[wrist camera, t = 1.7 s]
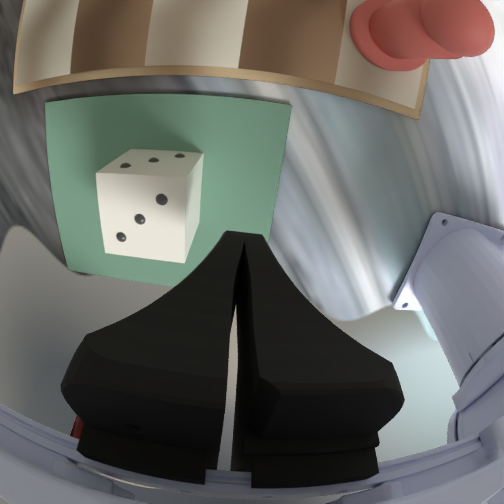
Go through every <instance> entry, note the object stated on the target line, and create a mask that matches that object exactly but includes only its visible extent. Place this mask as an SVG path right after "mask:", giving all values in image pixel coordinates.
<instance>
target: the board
mask: <svg viewBox="0 0 504 504" xmlns="http://www.w3.org/2000/svg"><path fill="white" fill-rule="evenodd" d="M365 1H366V0H24V1H23V6H22V11H21V16H20V22H19V28H18V35H17V43H16V52H15V64H14V85H13V94H17V93H21V92H25V91H30V90H34V89H39V88H43V87H48V86H54V85H59V84H65V83H71V82H78V81H85V80H93V79H102V78H113V77H126V76H147V75H192V76H213V77H227V78H238V79H247V80H256V81H264V82H271V83H278V84H284V85H290V86H296V87H301V88H306V89H311V90H316V91H321V92H325V93H330V94H334V95H338V96H342V97H346V98H350V99H354V100H357V101H361V102H365V103H368V104H372V105H375V106H378V107H381V108H385V109H388V110H391V111H394V112H397V113H400V114H403V115H405V116H408V117H411V118H414V119H417V120H419V116H420V111H421V107H422V102H423V97H424V92H425V87H426V81H427V76H428V70H429V63H430V59H427V60H426V62H425V63H424V64H423V65H422V66H420V67H419V68H417V69H415V70H411V71H388V70H384V69H381V68H378V67H376V66H375V65H373V64H371V63H370V62H369V61H367V60H366V59H365V58H364V57H363V56H362V55H361V54H360V52H359V51H358V50H357V48H356V47H355V45H354V43H353V41H352V38H351V34H350V28H349V25H350V18H351V15H352V13H353V11H354V10H355V9H356V8H357V7H358V6H359V5H360V4H362V3H363V2H365Z"/></svg>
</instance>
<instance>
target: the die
mask: <svg viewBox="0 0 504 504" xmlns="http://www.w3.org/2000/svg"><path fill="white" fill-rule="evenodd" d="M203 155H204V153H197V152H184V151H168V150H148V149H130V150H129V151H127V152H126V153H124V154H122V155H121V156H119V157H118V158H116V159H115V160H113V161H112V162H110V163H109V164H108V165H106V166H105V167H103V168H102V169H100V170H99V171H98V172H96V184H97V195H98V205H99V213H100V221H101V229H102V236H103V242H104V248H105V253H109V254H116V255H124V256H131V257H139V258H146V259H154V260H162V261H170V262H178V263H185V261H186V258H187V255H188V252H189V249H190V247H191V244H192V241H193V238H194V235H195V233H196V230H197V227H198V224H199V219H200V200H201V183H202V169H203Z"/></svg>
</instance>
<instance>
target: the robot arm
mask: <svg viewBox="0 0 504 504" xmlns="http://www.w3.org/2000/svg"><path fill="white" fill-rule="evenodd" d="M444 219H445V221H444V222H443V223H442V221H443V220H444ZM404 303H405V304H404ZM392 304H393V307H394V308H395V309H397V310H422V311H424V313H425V315H426V317H427V319H428V321H429V323H430V324H431V326H432V328H433V330H434V332H435V334H436V336H437V338H438V340H439V342H440V345H441V347H442V349H443V351H444V353H445V355H446V357H447V359H448V362H449V364H450V366H451V368H452V371H453V373H454V375H455V377H456V379H457V382H458V385H459V387H460V389H459V390H458V391H457V392H456V393H455V394H454V395H453V396H452V399H453V401H454V404H455V407H456V410H455V411H454V413H453V414H452V416H451V418H450V420H449V424H448V431H447V445H444V446H441V447H438V448H435V449H432V450H428V451H425V452H422V453H418V454H414V455H410V456H406V457H402V458H398V459H393V460H389V461H384V462H378V463H377V457H376V452H375V447H377V446H379V443H380V442H379V438H378V431H379V430H380V429H381V428H382V427H383V426H385V425H386V424H387V423H388V422H389V421H390V420H391V419H393V418H394V416H395V415H396V414H397V413H398V412H399V411H400V409H401V408H402V406H403V403H404V400H405V399H404V396H403V392H402V389H401V385H400V382H399V379H398V376H397V373H396V371H395V369H394V366H393V364H392V362H390V361H388V360H386V359H385V358H383V357H381V356H380V355H378V354H376V353H374V352H373V351H371V350H370V349H368V348H366V347H364V346H363V345H361V344H360V343H358V342H357V341H356V340H354V339H353V338H351V337H350V336H349V335H347V334H346V333H345V332H343V331H342V330H341V329H339V328H338V327H337V326H336V325H334V324H333V323H332V322H331V321H330V320H328V319H327V318H326V317H325V316H324V315H323V314H322V313H320V312H319V311H318V310H317V309H316V308H315V307H314V306H313V305H312V304H311V303H310V302H309V301H308V300H307V299H306V298H305V296H304V295H303V294H302V293H301V292H300V291H299V290H298V289H297V287H296V286H295V285H294V284H293V282H292V281H291V280H290V278H289V277H288V276H287V274H286V273H285V271H284V270H283V268H282V267H281V265H280V264H279V262H278V261H277V259H276V258H275V256H274V254H273V253H272V251H271V249H270V247H269V245H268V244H267V242H266V240H265V238H264V236H263V235H262V234H255V233H247V232H238V231H229V230H227V231H225V232H224V233H223V234H222V236H221V238H220V239H219V241H218V242H217V244H216V245H215V246H214V248H213V249H212V250H211V251H210V252H209V254H208V255H207V256H206V257H205V258H204V260H203V261H202V262H201V263H200V264H199V265H198V266H197V267H196V268H195V269H194V270H193V271H192V272H191V273H190V274H189V275H188V276H187V277H185V278H184V279H183V280H182V281H181V282H180V283H179V284H177V285H176V286H175V287H174V288H172V289H171V290H170V291H169V292H167V293H166V294H164V295H163V296H162V297H160V298H159V299H157V300H156V301H154V302H153V303H152V304H150V305H148V306H147V307H145V308H143V309H141V310H140V311H138V312H136V313H134V314H132V315H130V316H128V317H126V318H125V319H122V320H120V321H118V322H116V323H113V324H111V325H109V326H106V327H104V328H102V329H99V330H97V331H95V332H92V333H89V334H87V335H86V336H85V337H84V339H83V341H82V342H81V344H80V345H79V347H78V348H77V350H76V352H75V354H74V356H73V358H72V360H71V362H70V364H69V366H68V369H67V371H66V373H65V376H64V378H63V380H62V383H61V392H62V394H63V396H64V398H65V400H66V401H67V403H68V404H69V405H70V407H71V408H72V409H73V411H74V412H75V413H76V414H77V416H78V417H79V418H80V419H81V420H82V422H83V423H84V426H83V429H82V432H81V435H80V439H76V438H74V437H71V436H68V435H66V434H63V433H61V432H58V431H56V430H53V429H51V428H48V427H46V426H44V425H42V424H39V423H38V422H35V421H33V420H31V419H29V418H27V417H25V416H23V415H21V414H19V413H17V412H15V411H13V410H11V409H9V408H8V407H6V406H4V405H2V404H0V497H1V498H2V499H3V500H5V501H6V502H8V503H9V504H149V503H145V502H140V501H136V500H135V495H134V494H133V493H131V492H129V491H127V490H124V489H122V488H121V487H119V486H117V485H115V484H114V482H113V481H112V480H110V479H107V478H104V477H102V476H99V475H96V474H94V473H92V472H90V471H87V470H85V469H83V468H86V469H89V470H92V471H95V472H98V473H101V474H104V475H107V476H110V477H114V478H117V479H121V480H124V481H128V482H132V483H136V484H140V485H144V486H148V487H153V488H158V489H163V490H168V491H174V492H181V493H186V494H194V495H201V496H211V497H223V498H237V499H289V498H306V497H317V496H325V495H333V494H341V493H347V492H354V491H359V490H364V489H368V490H365V491H361V492H357V493H353V494H348V495H344V496H342V497H341V498H339V499H338V500H335V501H333V502H330V503H327V504H483V503H484V502H485V501H487V503H488V504H504V231H503V230H500V229H497V228H494V227H491V226H487V225H484V224H481V223H477V222H474V221H470V220H467V219H463V218H460V217H456V216H453V215H449V214H445V213H441V212H436V213H434V214H433V216H432V217H431V220H430V222H429V225H428V227H427V230H426V232H425V235H424V237H423V239H422V242H421V244H420V246H419V249H418V251H417V253H416V255H415V258H414V260H413V262H412V264H411V266H410V268H409V271H408V273H407V275H406V277H405V279H404V281H403V283H402V285H401V287H400V289H399V291H398V293H397V295H396V297H395V299H394V301H393V303H392ZM235 306H236V314H237V340H238V342H237V343H238V372H237V386H236V387H237V388H236V401H235V415H234V429H233V443H232V456H231V469H230V471H223V470H217V463H218V456H219V451H220V443H221V435H222V428H223V421H224V414H225V405H226V391H227V376H228V358H229V341H230V340H229V339H230V332H231V326H232V322H233V316H234V311H235ZM77 465H78V466H81V467H83V468H80V467H78V466H77ZM369 488H372V489H369Z"/></svg>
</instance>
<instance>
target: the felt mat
mask: <svg viewBox="0 0 504 504" xmlns="http://www.w3.org/2000/svg"><path fill="white" fill-rule="evenodd" d="M291 108H292V105H288V104H282V103H275V102H268V101H261V100H253V99H245V98H235V97H225V96H212V95H195V94H122V95H106V96H93V97H83V98H74V99H66V100H59V101H52V102H47V103H45V116H46V139H47V153H48V164H49V173H50V181H51V188H52V195H53V201H54V207H55V213H56V218H57V223H58V228H59V233H60V238H61V242H62V246H63V251H64V255H65V259H66V262H67V266H68V270H72V271H77V272H83V273H89V274H94V275H100V276H106V277H113V278H119V279H125V280H131V281H138V282H145V283H152V284H159V285H166V286H173V287H175V286H176V285H177V284H179V283H180V282H181V281H182V280H183V279H184V278H185V277H187V276H188V275H189V274H190V273H191V272H192V271H193V270H194V269H195V268H196V267H197V266H198V265H199V264H200V263H201V262H202V261H203V260H204V258H205V257H206V256H207V255H208V254H209V252H210V251H211V250H212V249H213V248H214V246H215V245H216V244H217V242H218V241H219V239H220V238H221V236H222V234H223V233H224V232H225V231H227V230H229V231H238V232H247V233H255V234H262V235H263V236H264V238H265V240H266V242H267V244H268V239H269V234H270V228H271V223H272V217H273V212H274V206H275V201H276V195H277V189H278V184H279V178H280V172H281V167H282V161H283V155H284V149H285V143H286V138H287V132H288V126H289V120H290V114H291ZM130 149H148V150H168V151H184V152H197V153H204V155H203V169H202V183H201V200H200V219H199V224H198V227H197V230H196V233H195V235H194V238H193V241H192V244H191V247H190V249H189V252H188V255H187V258H186V261H185V263H178V262H170V261H162V260H154V259H146V258H139V257H131V256H124V255H116V254H109V253H105V248H104V242H103V236H102V229H101V221H100V213H99V205H98V195H97V184H96V172H98V171H99V170H100V169H102V168H103V167H105V166H106V165H108V164H109V163H110V162H112V161H113V160H115V159H116V158H118V157H119V156H121V155H122V154H124V153H126V152H127V151H129V150H130Z"/></svg>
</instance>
